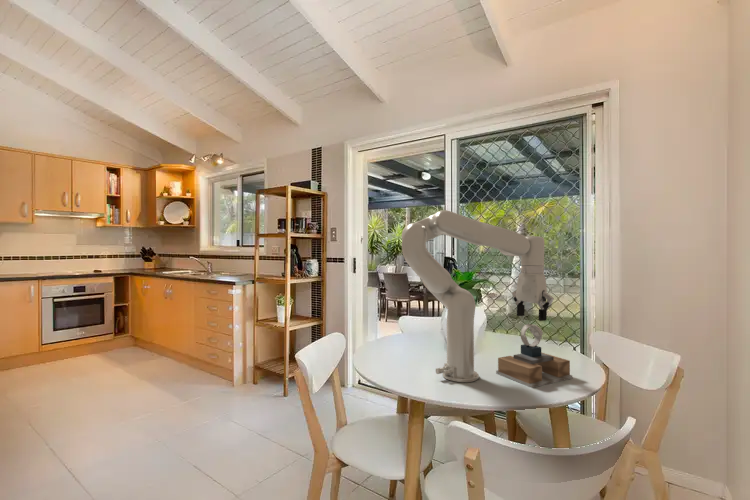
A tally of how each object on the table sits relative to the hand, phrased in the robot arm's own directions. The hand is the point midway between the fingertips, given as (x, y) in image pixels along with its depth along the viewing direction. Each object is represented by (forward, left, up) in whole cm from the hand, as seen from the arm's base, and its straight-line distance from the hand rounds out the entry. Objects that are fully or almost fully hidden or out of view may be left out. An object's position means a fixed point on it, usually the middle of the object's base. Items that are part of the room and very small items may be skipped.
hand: (531, 318), depth 133 cm
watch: (+1, +1, -14) cm, 14 cm away
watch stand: (+1, 0, -21) cm, 21 cm away
